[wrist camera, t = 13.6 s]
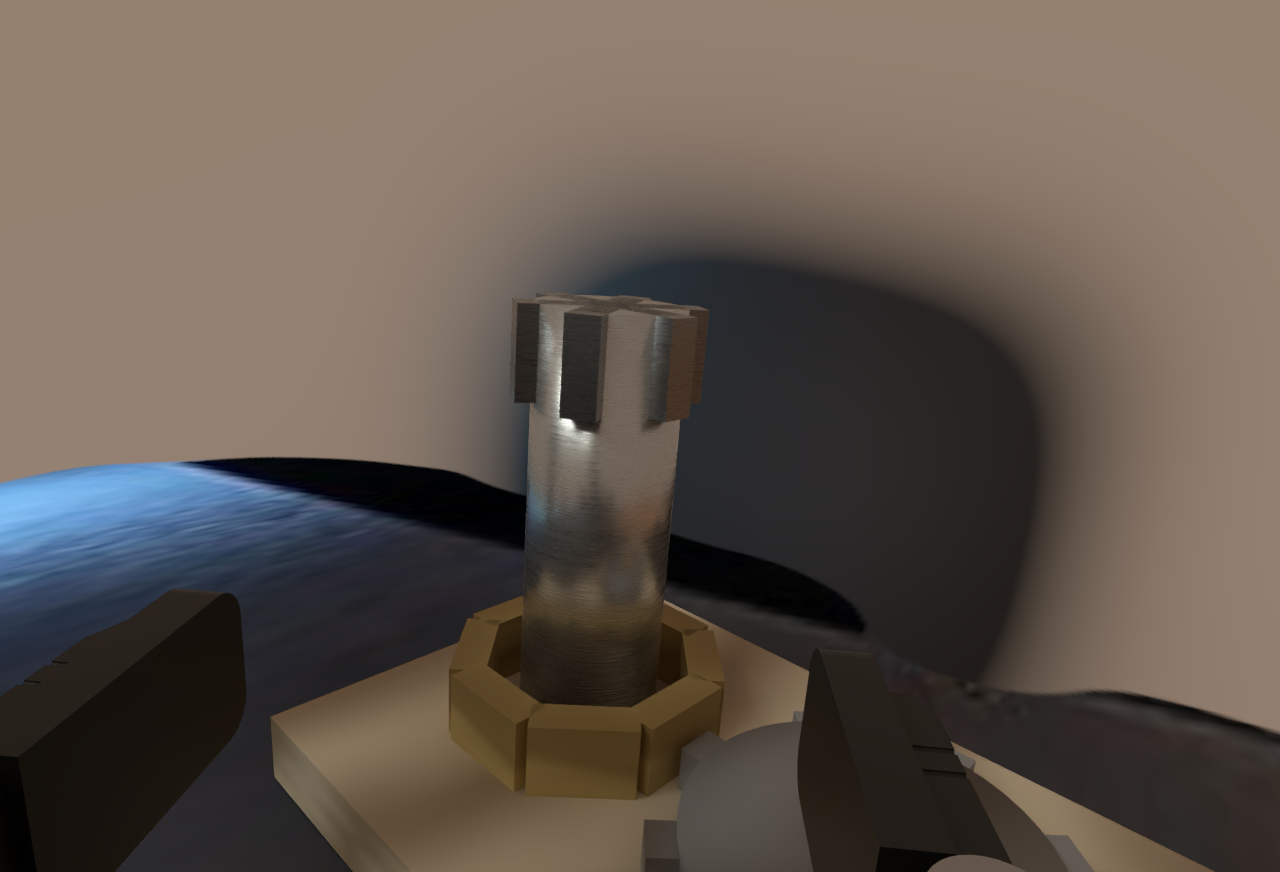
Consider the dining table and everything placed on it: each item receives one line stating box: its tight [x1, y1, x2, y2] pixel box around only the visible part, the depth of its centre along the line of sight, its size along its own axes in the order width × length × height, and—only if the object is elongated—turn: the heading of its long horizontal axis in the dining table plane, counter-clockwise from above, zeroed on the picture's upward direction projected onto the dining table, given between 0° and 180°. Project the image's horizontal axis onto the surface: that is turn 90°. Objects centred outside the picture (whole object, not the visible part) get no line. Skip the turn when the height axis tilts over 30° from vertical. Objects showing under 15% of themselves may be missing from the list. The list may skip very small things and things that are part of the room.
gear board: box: [270, 596, 1214, 872], centre depth 19 cm, size 25×14×4 cm, turn 46°
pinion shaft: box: [510, 293, 709, 708], centre depth 22 cm, size 5×5×12 cm
